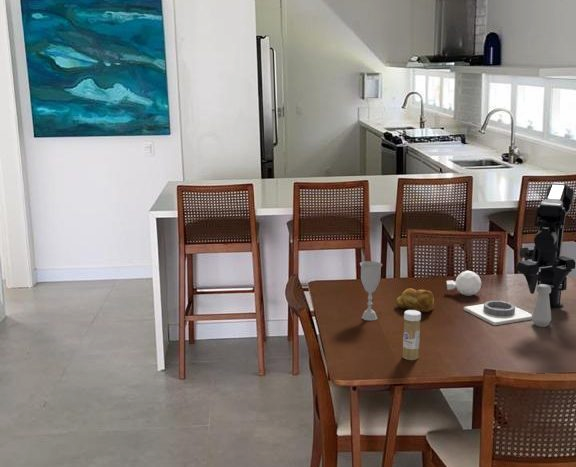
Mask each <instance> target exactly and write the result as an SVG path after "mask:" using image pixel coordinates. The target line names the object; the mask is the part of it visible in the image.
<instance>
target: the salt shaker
mask: <svg viewBox="0 0 576 467" xmlns="http://www.w3.org/2000/svg"><path fill="white" fill-rule="evenodd" d="M536 293H538V294H537V297H536V300H535V303H534V307H533V310H532V313H531V314H532V319H531V320H532V322H533V325H534V326H537V327H540V328H541V327H542V328H545V327H547V326H549V324H550V322H551V321H552V311H551V308H550V300H549V294H550V293H551V287H550V286H549V285H546V284H540V285H538V286H537V285H536Z"/></svg>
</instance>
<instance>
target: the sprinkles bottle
mask: <svg viewBox="0 0 576 467" xmlns="http://www.w3.org/2000/svg"><path fill="white" fill-rule="evenodd" d="M421 318H422V312H419V311H416V310H409V309H406V310H405V311H404V313H403V319H404V325H403V336H402V337H403V338H402V341H403V342H402V358H403V359H405V360H407V361H416V360H418V359H419V358H420V356H419V347H420V332H421V330H420V326H421Z"/></svg>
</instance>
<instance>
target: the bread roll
mask: <svg viewBox="0 0 576 467" xmlns="http://www.w3.org/2000/svg"><path fill="white" fill-rule="evenodd" d="M395 301H396V303H395V304H396V306H397V307H399V308H400V309H404V310H416V311H419V312H420V313H429V312H431V311H432V310H433V308H434V306H435V298H434V295H433V293H432V291H431V290H426V289H418V290H416V289H414V288H410V287H409V288H406V289H405V290H404V291H403V292H402V294H401V295H400V296H398V297H397V299H396V300H395Z"/></svg>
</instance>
